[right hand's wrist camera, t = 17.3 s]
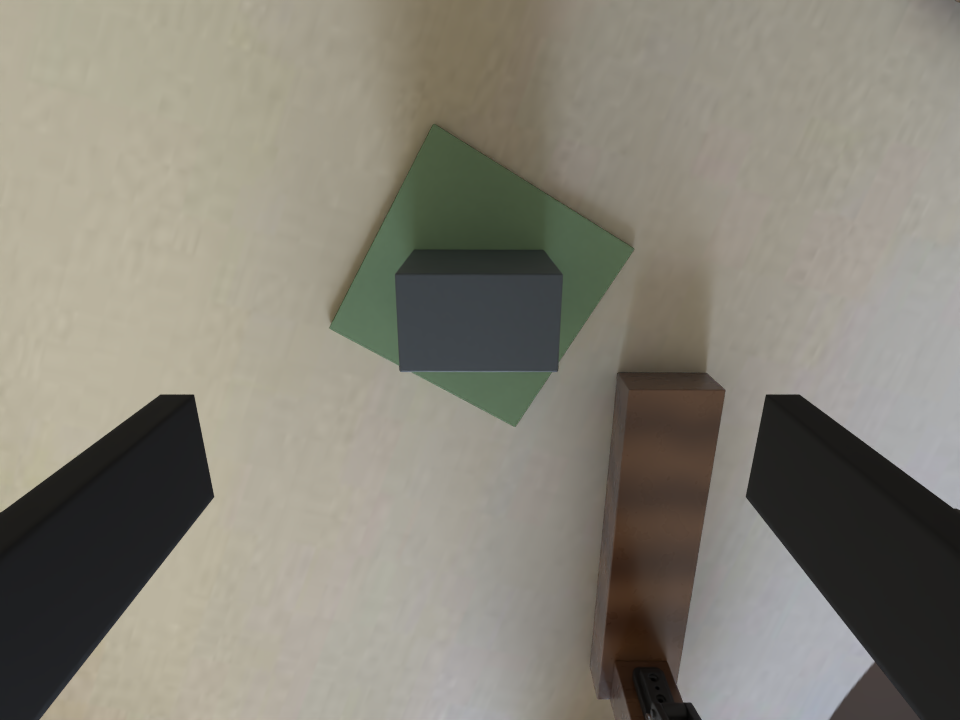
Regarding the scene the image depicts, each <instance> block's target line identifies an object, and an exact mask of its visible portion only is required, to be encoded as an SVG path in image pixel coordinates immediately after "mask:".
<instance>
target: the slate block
mask: <svg viewBox="0 0 960 720" xmlns="http://www.w3.org/2000/svg"><path fill="white" fill-rule="evenodd" d="M562 287H563V274H562V273H561V271H560V270H559V269H558V267H557V266H556V265H555V264H554V262H553V261H552V260H551V258H550V257H549V256H548V255H547V253H546V252H545V251H544V250H470V249H414V250H413V251H412V253H411V254H410V255H409V256H408V258H407V259H406V260H405V262H404V263H403V264H402V266H401V267H400V268H399V269H398V271H397V272H396V273H395V291H396V311H397V331H398V351H399V370H400V372H557V371H558V363H559V344H560V325H561V306H562Z"/></svg>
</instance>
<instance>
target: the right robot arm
mask: <svg viewBox="0 0 960 720" xmlns="http://www.w3.org/2000/svg"><path fill="white" fill-rule="evenodd" d="M213 498H214V493H213V488H212V483H211V478H210V473H209V468H208V463H207V458H206V453H205V448H204V443H203V438H202V433H201V428H200V423H199V418H198V413H197V408H196V402H195V397H194V395H159V396H158V397H157V398H155V399H154V400H153V401H151V402H150V403H149V404H147V405H146V406H144V407H143V408H142V409H140V410H139V411H138V412H136V413H135V414H134V415H132V416H131V417H130V418H128V419H127V420H126V421H124V422H123V423H122V424H120V425H119V426H117V427H116V428H115V429H113V430H112V431H111V432H109V433H108V434H107V435H105V436H104V437H103V438H101V439H100V440H99V441H97V442H96V443H94V444H93V445H92V446H90V447H89V448H88V449H86V450H85V451H84V452H82V453H81V454H80V455H78V456H77V457H76V458H74V459H73V460H71V461H70V462H69V463H67V464H66V465H65V466H63V467H62V468H61V469H59V470H58V471H57V472H55V473H54V474H53V475H51V476H50V477H49V478H47V479H46V480H44V481H43V482H42V483H40V484H39V485H38V486H36V487H35V488H34V489H32V490H31V491H30V492H28V493H27V494H26V495H24V496H23V497H21V498H20V499H19V500H17V501H16V502H15V503H13V504H12V505H11V506H9V507H8V508H7V509H5V510H4V511H2V512H0V720H39V719H40V718H41V717H42V716H43V714H44V713H45V712H46V711H47V709H48V708H49V707H50V705H51V704H52V703H53V702H54V700H55V699H56V698H57V697H58V695H59V694H60V693H61V691H62V690H63V689H64V688H65V686H66V685H67V684H68V683H69V681H70V680H71V679H72V677H73V676H74V675H75V674H76V672H77V671H78V670H79V669H80V667H81V666H82V665H83V663H84V662H85V661H86V660H87V658H88V657H89V656H90V654H91V653H92V652H93V651H94V649H95V648H96V647H97V646H98V644H99V643H100V642H101V640H102V639H103V638H104V637H105V635H106V634H107V633H108V632H109V630H110V629H111V628H112V626H113V625H114V624H115V623H116V621H117V620H118V619H119V618H120V616H121V615H122V614H123V612H124V611H125V610H126V609H127V607H128V606H129V605H130V604H131V602H132V601H133V600H134V598H135V597H136V596H137V595H138V593H139V592H140V591H141V590H142V588H143V587H144V586H145V584H146V583H147V582H148V581H149V579H150V578H151V577H152V576H153V574H154V573H155V572H156V570H157V569H158V568H159V567H160V565H161V564H162V563H163V562H164V560H165V559H166V558H167V556H168V555H169V554H170V553H171V551H172V550H173V549H174V547H175V546H176V545H177V544H178V542H179V541H180V540H181V539H182V537H183V536H184V535H185V533H186V532H187V531H188V530H189V528H190V527H191V526H192V525H193V523H194V522H195V521H196V519H197V518H198V517H199V516H200V514H201V513H202V512H203V511H204V509H205V508H206V507H207V505H208V504H209V503H210V502H211V500H212V499H213ZM746 498H747V499H748V500H749V502H750V503H751V504H752V505H753V507H754V508H755V509H756V511H757V512H758V513H759V514H760V516H761V517H762V518H763V519H764V521H765V522H766V523H767V525H768V526H769V527H770V528H771V530H772V531H773V532H774V533H775V535H776V536H777V537H778V539H779V540H780V541H781V542H782V544H783V545H784V546H785V547H786V549H787V550H788V551H789V553H790V554H791V555H792V556H793V558H794V559H795V560H796V562H797V563H798V564H799V565H800V567H801V568H802V569H803V570H804V572H805V573H806V574H807V576H808V577H809V578H810V579H811V581H812V582H813V583H814V584H815V586H816V587H817V588H818V590H819V591H820V592H821V593H822V595H823V596H824V597H825V598H826V600H827V601H828V602H829V604H830V605H831V606H832V607H833V609H834V610H835V611H836V612H837V614H838V615H839V616H840V618H841V619H842V620H843V621H844V623H845V624H846V625H847V626H848V628H849V629H850V630H851V632H852V633H853V634H854V635H855V637H856V638H857V639H858V640H859V642H860V643H861V644H862V646H863V647H864V648H865V649H866V651H867V652H868V653H869V654H870V656H871V657H872V658H873V660H874V661H875V662H876V663H877V665H878V666H879V667H880V669H881V670H882V671H883V672H884V674H885V675H886V676H887V677H888V679H889V680H890V681H891V683H892V684H893V685H894V686H895V688H896V689H897V690H898V691H899V693H900V694H901V695H902V697H903V698H904V699H905V700H906V702H907V703H908V704H909V705H910V707H911V708H912V709H913V711H914V712H915V713H916V714H917V716H918V717H919V718H920V719H921V720H960V510H958V509H953V508H952V507H951V506H949V505H948V504H947V503H945V502H944V501H943V500H941V499H940V498H939V497H937V496H936V495H934V494H933V493H932V492H930V491H929V490H928V489H926V488H925V487H924V486H922V485H921V484H920V483H918V482H917V481H916V480H914V479H913V478H911V477H910V476H909V475H907V474H906V473H905V472H903V471H902V470H901V469H899V468H898V467H897V466H895V465H894V464H893V463H891V462H890V461H889V460H887V459H886V458H884V457H883V456H882V455H880V454H879V453H878V452H876V451H875V450H874V449H872V448H871V447H870V446H868V445H867V444H866V443H864V442H863V441H861V440H860V439H859V438H857V437H856V436H855V435H853V434H852V433H851V432H849V431H848V430H847V429H845V428H844V427H843V426H841V425H840V424H838V423H837V422H836V421H834V420H833V419H832V418H830V417H829V416H828V415H826V414H825V413H824V412H822V411H821V410H820V409H818V408H817V407H816V406H814V405H813V404H811V403H810V402H809V401H807V400H806V399H805V398H803V397H802V396H801V395H766V397H765V402H764V408H763V413H762V418H761V423H760V428H759V433H758V438H757V443H756V448H755V453H754V458H753V463H752V468H751V473H750V478H749V483H748V488H747V493H746Z"/></svg>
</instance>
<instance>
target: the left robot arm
mask: <svg viewBox="0 0 960 720" xmlns="http://www.w3.org/2000/svg"><path fill="white" fill-rule="evenodd" d="M632 680H633V683H634V686H635V690H636V693H637V696H638V700H639V703H640V706H641V710H642V713H643V716H644V720H701V718H700V716H699V715H698V713H697V711H696V710H695V708H694V706H693V705H692V703H675V702H674V699H673V696H672V694H671V691H670V688H669V685H668V683H667V680H666V677H665V675H664V672H663V671H662V670H661V669H660V668H657V667H636V668H634V670H633V676H632Z"/></svg>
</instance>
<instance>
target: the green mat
mask: <svg viewBox="0 0 960 720" xmlns="http://www.w3.org/2000/svg"><path fill="white" fill-rule="evenodd" d="M414 249H470V250H544V251H545V252H546V253H547V255H548V256H549V257H550V258H551V260H552V261H553V262H554V264H555V265H556V266H557V267H558V269H559V270H560V271H561V273H562V274H563V287H562V306H561V325H560V344H559V361H560V359H561V358H562V356H563V355H564V353H565V352H566V350H567V349H568V347H569V346H570V344H571V343H572V341H573V340H574V338H575V337H576V336H577V334H578V333H579V331H580V330H581V328H582V327H583V325H584V324H585V322H586V321H587V319H588V318H589V316H590V315H591V313H592V312H593V310H594V309H595V307H596V306H597V304H598V303H599V301H600V300H601V298H602V297H603V295H604V294H605V292H606V291H607V289H608V288H609V286H610V285H611V283H612V282H613V280H614V279H615V277H616V276H617V274H618V273H619V271H620V270H621V268H622V267H623V265H624V264H625V262H626V261H627V259H628V258H629V256H630V255H631V253H632V252H633V250H634V248H632V247H631V246H629V245H628V244H626V243H624V242H623V241H621V240H620V239H618V238H616V237H615V236H613V235H612V234H610V233H608V232H607V231H605V230H604V229H602V228H600V227H599V226H597V225H596V224H594V223H592V222H591V221H589V220H588V219H586V218H584V217H583V216H581V215H580V214H578V213H576V212H575V211H573V210H572V209H570V208H568V207H567V206H565V205H563V204H562V203H560V202H559V201H557V200H555V199H554V198H552V197H551V196H549V195H547V194H546V193H544V192H543V191H541V190H539V189H538V188H536V187H535V186H533V185H531V184H530V183H528V182H527V181H525V180H523V179H522V178H520V177H519V176H517V175H515V174H514V173H512V172H511V171H509V170H507V169H506V168H504V167H503V166H501V165H499V164H498V163H496V162H495V161H493V160H491V159H490V158H488V157H487V156H485V155H483V154H482V153H480V152H479V151H477V150H475V149H474V148H472V147H471V146H469V145H467V144H466V143H464V142H462V141H461V140H459V139H458V138H456V137H454V136H453V135H451V134H450V133H448V132H446V131H445V130H443V129H442V128H440V127H438V126H437V125H435V124H433V126H432V128H431V130H430V132H429V134H428V136H427V137H426V139H425V141H424V143H423V145H422V147H421V149H420V151H419V153H418V155H417V157H416V159H415V161H414V163H413V165H412V167H411V169H410V171H409V173H408V175H407V177H406V179H405V181H404V183H403V184H402V186H401V188H400V190H399V192H398V194H397V196H396V198H395V200H394V202H393V204H392V206H391V208H390V210H389V212H388V214H387V216H386V218H385V220H384V222H383V224H382V226H381V228H380V230H379V232H378V233H377V235H376V237H375V239H374V241H373V243H372V245H371V247H370V249H369V251H368V253H367V255H366V257H365V259H364V261H363V263H362V265H361V267H360V269H359V271H358V273H357V275H356V277H355V279H354V280H353V282H352V284H351V286H350V288H349V290H348V292H347V294H346V296H345V298H344V300H343V302H342V304H341V306H340V308H339V310H338V312H337V314H336V316H335V318H334V320H333V322H332V324H331V326H330V329H331V330H333V331H335V332H337V333H339V334H341V335H343V336H344V337H346V338H348V339H350V340H352V341H354V342H356V343H358V344H360V345H361V346H363V347H365V348H367V349H369V350H371V351H373V352H375V353H376V354H378V355H380V356H382V357H384V358H386V359H388V360H390V361H392V362H393V363H395V364H397V365H399V351H398V331H397V311H396V291H395V273H396V272H397V271H398V269H399V268H400V267H401V266H402V264H403V263H404V262H405V260H406V259H407V258H408V256H409V255H410V254H411V253H412V251H413V250H414ZM412 373H414V374H416V375H418V376H420V377H422V378H424V379H425V380H427V381H429V382H431V383H433V384H435V385H437V386H439V387H441V388H442V389H444V390H446V391H448V392H450V393H452V394H454V395H456V396H457V397H459V398H461V399H463V400H465V401H467V402H469V403H471V404H473V405H474V406H476V407H478V408H480V409H482V410H484V411H486V412H488V413H489V414H491V415H493V416H495V417H497V418H499V419H501V420H503V421H505V422H506V423H508V424H510V425H512V426H514V427H516V425H517V424H518V422H519V421H520V419H521V418H522V416H523V415H524V413H525V412H526V410H527V409H528V407H529V406H530V404H531V403H532V401H533V400H534V398H535V397H536V395H537V394H538V392H539V391H540V389H541V388H542V386H543V385H544V383H545V382H546V380H547V379H548V377H549V376H550V374H551V373H552V372H412Z"/></svg>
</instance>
